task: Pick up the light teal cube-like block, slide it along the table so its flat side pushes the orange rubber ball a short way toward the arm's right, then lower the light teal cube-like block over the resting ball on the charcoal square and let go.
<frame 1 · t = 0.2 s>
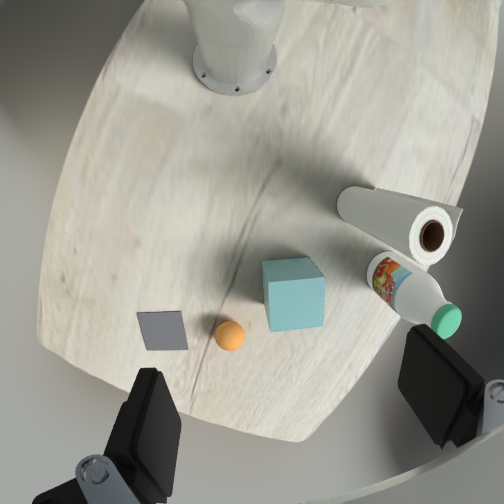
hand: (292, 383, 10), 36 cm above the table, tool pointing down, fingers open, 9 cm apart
ball: (229, 336, 47), on the table
paper towel roll: (356, 204, 45), on the table
milk bottle: (383, 270, 49), on the table
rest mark: (163, 331, 49), on the table
light teal cube-like block: (286, 281, 48), on the table
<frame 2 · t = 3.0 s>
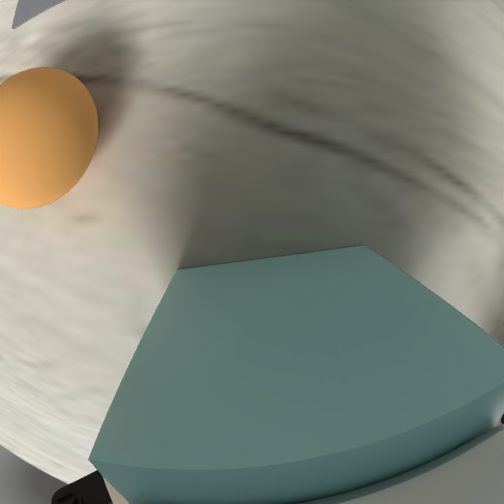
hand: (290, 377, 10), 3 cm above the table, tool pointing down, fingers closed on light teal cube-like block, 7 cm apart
ball: (33, 137, 7), on the table
light teal cube-like block: (281, 339, 13), on the table, touching gripper
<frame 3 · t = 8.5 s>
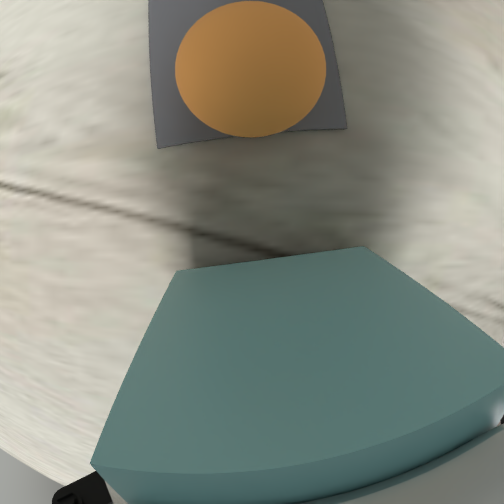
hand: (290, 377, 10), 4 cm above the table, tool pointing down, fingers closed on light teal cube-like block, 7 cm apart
ball: (250, 67, 8), on the table
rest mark: (243, 48, 10), on the table
light teal cube-like block: (280, 340, 13), point 1 cm above the table, touching gripper
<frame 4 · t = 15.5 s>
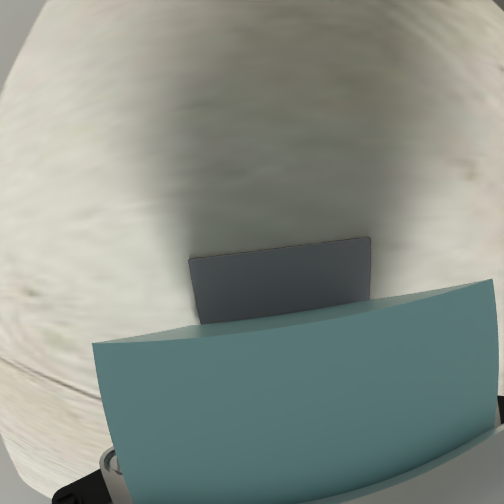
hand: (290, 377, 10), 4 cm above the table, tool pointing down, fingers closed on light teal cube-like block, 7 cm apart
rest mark: (288, 328, 14), on the table
light teal cube-like block: (287, 395, 12), point 2 cm above the table, tilted 28°, touching ball, gripper
when the fingers open (3 cm above the table, at t = 16.2 s): light teal cube-like block drops 2 cm, on the table.
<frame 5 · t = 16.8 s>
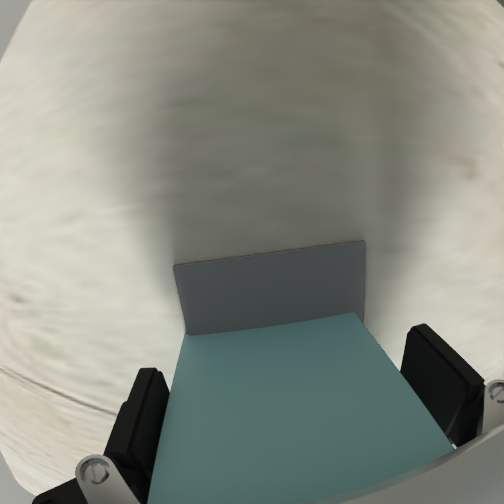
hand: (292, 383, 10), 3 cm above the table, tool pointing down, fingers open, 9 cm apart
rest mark: (279, 336, 13), on the table
light teal cube-like block: (276, 386, 14), on the table
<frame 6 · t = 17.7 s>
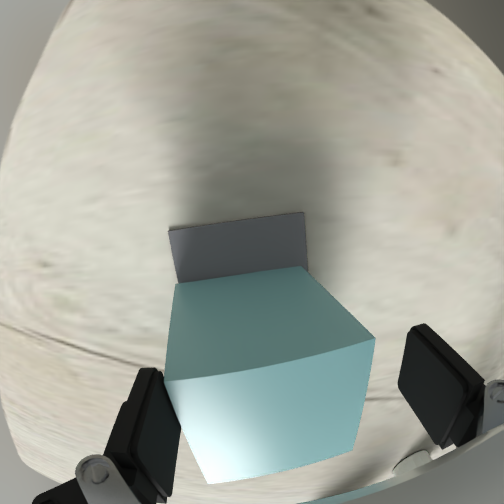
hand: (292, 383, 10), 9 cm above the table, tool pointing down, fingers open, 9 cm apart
paper towel roll: (407, 462, 30), on the table
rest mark: (244, 284, 18), on the table
light teal cube-like block: (245, 328, 19), on the table
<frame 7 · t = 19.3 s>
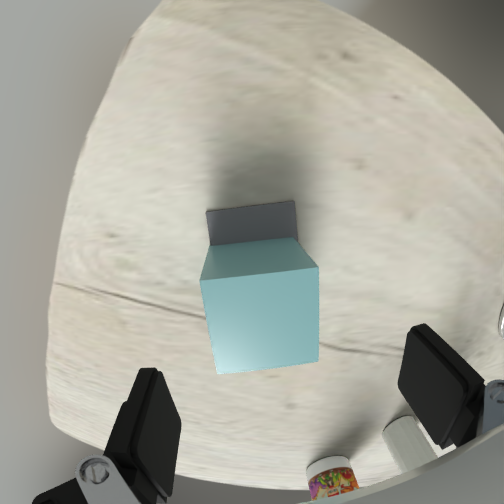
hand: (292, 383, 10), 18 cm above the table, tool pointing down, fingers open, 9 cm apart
paper towel roll: (396, 428, 38), on the table
milk bottle: (326, 465, 39), on the table
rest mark: (255, 248, 27), on the table
light teal cube-like block: (255, 279, 28), on the table
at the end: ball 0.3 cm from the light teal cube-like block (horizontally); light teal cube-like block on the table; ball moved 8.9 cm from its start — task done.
